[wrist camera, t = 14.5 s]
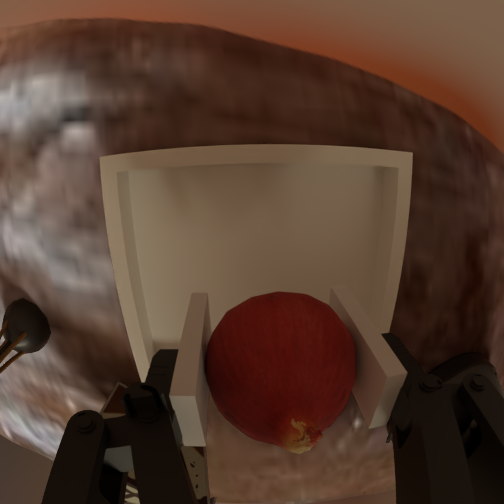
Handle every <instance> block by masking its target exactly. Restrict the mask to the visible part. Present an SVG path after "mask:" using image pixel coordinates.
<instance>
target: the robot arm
mask: <svg viewBox="0 0 504 504" xmlns="http://www.w3.org/2000/svg"><path fill="white" fill-rule="evenodd" d="M329 306H330V307H331V308H332V309H333V310H334V311H335V313H336V314H337V315H338V316H339V318H340V319H341V320H342V322H343V323H344V324H345V326H346V327H347V328H348V330H349V331H350V333H351V336H352V338H353V341H354V343H355V362H356V378H355V383H354V386H353V389H352V392H353V395H354V397H355V399H356V401H357V404H358V406H359V408H360V410H361V413H362V415H363V417H364V420H365V422H366V424H367V427H368V429H370V428H375V427H379V426H383V425H387V422H388V420H389V418H390V416H391V418H390V420H389V423H388V434H389V435H388V437H387V441H386V443H389V442H390V440H392V442H393V449H394V462H395V479H396V503H397V504H504V392H503V390H502V388H501V385H500V383H499V381H498V375H497V373H496V369H495V368H494V366H493V365H492V364H491V363H490V362H489V361H488V360H487V359H486V358H485V356H483V355H482V354H479V353H468V354H464V355H461V356H458V357H456V358H454V359H452V360H450V361H448V362H446V363H445V364H443V365H441V366H440V367H438V368H437V369H435V370H434V371H433V372H431V373H430V374H427V373H425V372H424V371H423V370H422V368H421V367H420V366H419V364H418V363H417V362H416V360H415V359H414V357H413V356H412V355H411V353H409V351H408V349H407V348H406V347H405V345H404V344H403V343H402V342H401V340H400V339H399V338H398V337H396V336H395V335H393V334H392V333H390V332H389V333H383V334H380V332H379V331H378V329H377V328H376V327H375V325H374V324H373V322H372V321H371V320H370V318H369V317H368V316H367V314H366V313H365V311H364V310H363V309H362V307H361V306H360V305H359V303H358V302H357V301H356V299H355V298H354V296H353V295H352V294H351V292H350V291H349V290H348V288H347V287H346V286H345V285H343V286H331V288H330V298H329ZM211 335H212V331H211V321H210V311H209V300H208V293H192V294H191V298H190V302H189V306H188V311H187V315H186V319H185V324H184V328H183V332H182V337H181V341H180V346H179V349H160V350H159V351H158V352H157V353H156V354H155V355H154V356H153V357H152V360H151V363H150V368H149V370H148V373H147V374H148V375H147V376H146V380H145V382H139V383H136V384H132V385H131V386H129V387H127V388H126V389H125V390H124V391H123V393H122V394H121V398H120V401H121V403H122V406H123V408H124V410H125V413H126V415H123V416H119V417H114V418H107V419H103V417H102V415H100V414H99V413H98V412H96V411H92V410H83V411H80V412H77V413H76V414H74V415H73V416H72V417H71V418H70V420H69V421H68V423H67V426H66V429H65V431H64V434H63V437H62V440H61V443H60V445H59V448H58V451H57V454H56V457H55V460H54V463H53V466H52V469H51V472H50V476H49V479H48V482H47V486H46V489H45V492H44V496H43V500H42V503H41V504H124V502H125V494H126V486H127V479H128V473H129V471H134V474H135V480H136V486H137V491H138V497H139V502H140V504H198V501H197V498H196V495H195V492H194V489H193V486H192V482H191V479H190V476H189V473H188V469H187V466H186V463H185V459H184V456H183V453H182V450H181V445H182V440H183V443H184V446H206V437H207V417H208V399H209V386H208V384H207V381H206V353H207V344H208V342H209V339H210V337H211Z"/></svg>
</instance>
